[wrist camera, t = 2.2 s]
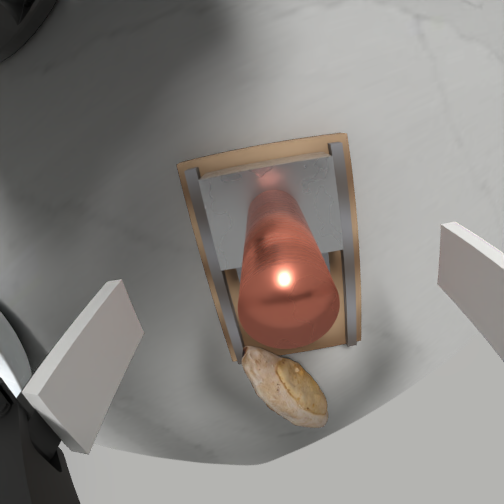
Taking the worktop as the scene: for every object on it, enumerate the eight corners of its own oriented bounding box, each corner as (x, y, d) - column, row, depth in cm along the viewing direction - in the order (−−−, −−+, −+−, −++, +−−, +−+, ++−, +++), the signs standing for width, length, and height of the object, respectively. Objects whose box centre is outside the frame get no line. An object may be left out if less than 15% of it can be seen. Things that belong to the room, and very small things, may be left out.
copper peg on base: (206, 172, 21) (137, 244, 9) (322, 151, 20) (409, 196, 8) (231, 275, 24) (209, 416, 12) (335, 257, 23) (396, 386, 11)
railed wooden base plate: (181, 161, 22) (172, 166, 20) (341, 132, 21) (350, 134, 19) (233, 351, 29) (232, 368, 27) (357, 330, 28) (363, 347, 26)
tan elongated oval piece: (260, 376, 21) (215, 387, 23) (341, 434, 27) (304, 441, 29) (268, 321, 25) (227, 337, 27) (341, 392, 31) (306, 401, 33)
